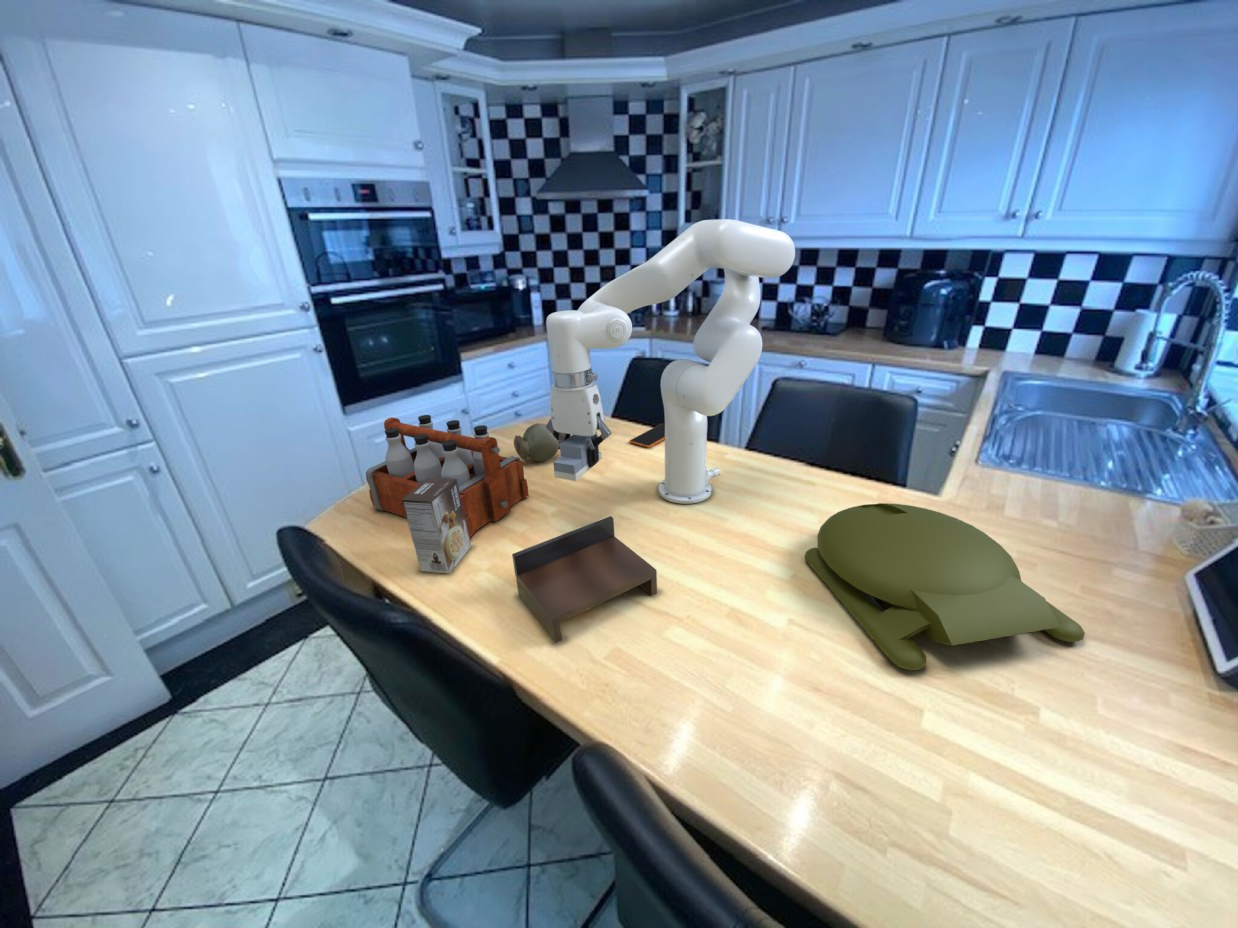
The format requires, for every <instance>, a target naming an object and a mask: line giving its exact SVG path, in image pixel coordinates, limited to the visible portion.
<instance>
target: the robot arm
mask: <svg viewBox="0 0 1238 928" xmlns="http://www.w3.org/2000/svg"><path fill="white" fill-rule="evenodd" d="M795 257H796V246H795V244H794V241H793V239H792V238H791V236H789V234H787V233H785V232H784V231H782V230H778V229H774V228H769V227H765V226H762V225H758V224H753V223H749V222H746V221H741V220H737V219H731V218H722V219H721V218H720V219H719V218H718V219H703V220H700V221H697V222H695V223H694V224H692V225H690V226H689V227H688V228H687V229H684V231H683V232H681V233H680V234H679V235H678V236H676V238H674V239H673V240H672V241H670V243H668V244H666V246H664V247H663V248H662V249H661V250H659V251H658V252H657V253H655V255H653V256H652V257H650V258H649V259H648V260H647V261H645V262H643V263H642V264H639V265H638V266H636V267H634V268H632V269H630V270H629V271H627V272H625V273H623V274H622V275H620V276H618V277H616V278H615V279H613V280H611V281H609V282H607V283H606V284H604V285H603V286H602V287H601V288H599V289H598V290H597V291H595V292H594V293H593V294H592V295H591V296H589V298H587V299H586V300H585V301H583V302H582V303H581V305H580V306H579V307H578V309H576V310H575V309H573V310H571V309H570V310H569V309H568V310H567V309H566V310H558V311H555V312H551V313H550V314H549V315H548V316H547V317H546V320H545V325H546V326H545V327H546V334H547V343H548V350H549V352H548V353H549V360H550V367H551V375H552V384H551V386H550V396H549V401H550V402H549V404H550V405H549V408H550V418H549V420H548V422H547V423H546V424H547V425H546V428H547V429H548V430H549V431H550V432H551V433H553V436H554V437H555V438H556V439H557V440H558V443H559V444H561V443H562V442H563V441H565V440H566V439H567V438H569V437H570V436H572V435H581V436H585V439H586V441H587V444H588V447H589V449H588V450H587V459H588V466H589V467H591V468H590V469H592V468H593V467H594V466H595V465H596V464H598V463H599V462H600V461H599V452H600V451H599V452H598V446H599V445H601V443H603V441H606V439H608V438H609V437H610V436H611V435H612V434H613V433H612V430H611V429H610V428H609V426H608V425H607V424H606V423H605V415H604V408H603V403H602V398H601V394H600V390H599V387H598V385H597V382H596V381H598V374H597V373H594V372H593V369H592V361H591V351H590V350H606V349H607V350H610V349H616V348H619V347H621V346H623V345H625V344H626V343H627V342H628V340H629V339H630V338H631V335H632V332H633V323H632V320H631V318H630V316H629V315H628V314H629V313H631V312H633V311H635V310H638V309H641V308H644V307H647V306H652V305H656V304H661V303H664V302H668V301H670V300H673V299H674V298H675V297H677V296H678V295H680V293H681V292H683V291H684V290H685V289H686V288H687V287H689V286H690V285H691V284H692V283H693V282H694V281H695V280H697V279H698V278H699V277H701V276H702V275H703V274H704V273H706V271H708V270H709V269H713V268H714V269H723V273H724V285H723V290H722V292H721V294H720V296H719V297H718V300H717V301H716V303H715V305H714V306H713V307H712V309H711V310H710V312H709V313H708V315H707V316H706V318H705V319H704V321H703V322H702V323H701V325H700V326H699V328H698V329H697V332H696V333H695V335H694V337H693V340H692V349H693V352H694V353H695V355H696V356H697V357H698V358H700V359H701V360H703V361H705V362H708V363H709V364H708V365H706V364H703V363H700V362H697V361H694V360H691V359H687V358H686V359H685V358H680V359H676V360H673V361H671V362H670V363H669V364H668V365H666V366H665V368H664V369H663V370H662V371H663V372H662V374H661V377H660V393H661V399H662V404H663V405H662V406H663V412H664V413H663V414H664V424H665V439H664V480H662V481H661V482H660V483H659V484H658V494H659V496H660V497H661V498H663V499H664V500H666V501H667V502H671V503H675V504H682V505H690V504H696V503H701V502H704V501H705V500H707V499H708V498H709V497H710V496H711V495H712V490H713V489H712V485H711V484H710V482H709V481H710V480H712V478H715V477H718V476H720V473H721V471H720V469H719V468H717V467H715V468H713V469H710V470H709V468H708V466H707V439H708V417H713V416H716V415H718V414H721V413H722V412H723V411H725V409H727V407H728V406H729V405H730V404H731V403H732V401H733V400H734V399H735V397H736V396H737V394H738V392H739V391H740V390H741V388H742V387H743V385H744V384H745V383H746V381H747V380H748V378H749V377H750V375H751V374H752V372H753V371H754V369H755V368H756V366H757V364H758V362H759V361H760V358H761V356H762V351H763V338H762V336H761V335H762V334H761V333H760V331H759V330H758V329H757V328H756V327H755V326H753V325H752V324H751V323H752V322H753V319H754V318H755V316H756V315H757V313H758V310H759V308H760V306H761V286H760V278H764V279H776V278H779V277H781V276H783V275H785V274H786V273H787V272H788V271H789V270H790V269H791V267H792V266H793V263H794V261H795ZM597 430H598V431H599V432H600V435H599V434H598V431H597Z"/></svg>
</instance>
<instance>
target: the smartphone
mask: <svg viewBox="0 0 1238 928" xmlns="http://www.w3.org/2000/svg"><path fill="white" fill-rule="evenodd" d="M662 441H665V423H660V424H658V425H656V426H655V427H652V428H651V429H649V430H647V431H645V432H643V433H641V434H639V435H637V436H635V437H633V438H631V439H630V440H629V443H630V444H633V445H636V446H640V447H643V448H647V449H649V448H651V447H653V446H655V445H657V444H659V443H660V442H662Z"/></svg>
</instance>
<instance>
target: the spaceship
mask: <svg viewBox="0 0 1238 928" xmlns="http://www.w3.org/2000/svg"><path fill="white" fill-rule="evenodd" d="M816 538H817V539H816V540H817V541H816V542H817V543H816V544H817V545H816V546H817V547H812V548H808V549H807V550H806V551H805V553H804V560H805V561H806V562H807V563H808V565H809V566H810V567H811V568H812V569H813V570H814V572H815V573H816V574H817V576H819V577H820V579H821V580H822V581H823V582H824V584H825V585H826V586H827V587H828V588H829V589H830V591H831V592H832V593H833V594H834V595H835V597H836V598H837V599H838V600H839V601H840V603H842V605H843V606H844V607H845V608H846V610H847V611H848V612H849V613H850V614H851V615H852V617H853V618H854V619H855V621H856V622H857V623H858V624H859V625H860V626H861V627H862V629H863V630H864V631H865V632H866V633H867V634H868V636H869V637H870V638H871V639H872V641H874V643H875V644H876V646H878V647H879V649H880V650H881V651H882V652H883V654H884V655H885V656H886V657H887V658H888V659H889V660H890V661H891V662H892V663H893V664H894V665H896V667H899V668H901V669H903V670H907V671H918V670H921V669H923V668H924V667H925V666H926V664H927V655H926V654H925V653H924V651H923V649H922V648H921V647H920V646H919V645H918V644H917V643H916V642H915V640H913V638H912V637H914V636H916V635H917V634H919V633H922V634H923V635H924V636H925V637H927V639H928V640H929V641H932V642H936V643H940V644H944V645H948V646H953V647H954V646H957V645H964V644H969V643H975V642H981V641H986V640H993V639H999V638H1004V637H1005V638H1006V637H1011V636H1016V635H1017V636H1018V635H1021V634H1022V635H1023V634H1027V633H1034V632H1039V631H1044V632H1046V633H1047V634H1048V635H1050V636H1051V637H1053V638H1054V639H1056V640H1060V641H1062V642H1068V643H1077V642H1080V641H1083V640H1084V638H1085V636H1086V632H1085V630H1084V629H1083V627H1082V625H1080V623H1078V622H1077V621H1075V619H1072V618H1071V617H1070V616H1068V615H1067V614H1066V613H1064V612H1062V611H1061V610H1059V609H1058V608H1057V607H1056V606H1054V605H1053V604H1052V603H1050V602H1049V601H1047V600H1046V598H1045V597H1044V596H1043V595H1042V594H1040V593H1039V592H1037V591H1036V590H1035V589H1033V588H1032V587H1030V586H1029V585H1028V584H1026V583H1024V582H1023V580H1022V578H1021V573H1020V570H1019V567H1018V566H1017V564H1016V562H1015V560H1014V559H1013V557H1012V555H1010V553H1009V552H1008V551H1007V550H1006V549H1005V548H1004V547H1003V546H1002V545H1001V544H1000V543H998V542H997V541H996V540H995V539H994V538H992V537H991V536H989V535H988V534H987V533H986V532H984V531H982V530H980V529H979V528H977V527H975V526H974V525H972V524H970V523H967V522H965V521H963V520H961V519H960V518H956V517H955V516H951V515H948V514H945V513H943V512H939V511H937V510H932V509H930V508H925V507H920V506H915V505H909V504H902V503H888V502H887V503H886V502H885V503H883V502H882V503H881V502H879V503H867V504H861V505H856V506H852V507H847V508H845V509H843V510H839V511H837V512H836V513H834V514H832V515H831V516H829V517H828V519H826V520H825V521H824V522H823V524H822V525H820V527H819V530H818V533H817V536H816ZM875 598H876V599H878V600H881V601H883V602H886V603H889V604H891V605H892V606H891V607H889V608H887V609H884V608H883V606H881V604H879V602H877V600H876V599H875Z"/></svg>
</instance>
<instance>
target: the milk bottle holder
mask: <svg viewBox="0 0 1238 928" xmlns="http://www.w3.org/2000/svg"><path fill="white" fill-rule="evenodd" d="M417 419H418V425H414V424H408V423H403V422H401V420H400V419H399V418H397V417H393V416H391V417H388V418H386V419H385V420H384V422H383V427H384V434H385V441H386V442H387V445H388V446H387V450H386V453H385V459H384V460H385V461H383V462H380V463H378V464H376V465H373V466H372V467H369V468H368V469H367V470H366V471H365V478H366V479H365V480H366V482H367V484H368V487H369V489H368V494H369V498H370V501H371V504H372V505H373V507H374V508H375V509H376V510H379V511H382V512H385V511H386V512H389V513H392V514H395V515H398V516H401V517H404V518H407V517H406V514H405V510H404V506H403V503H402V499H403V498H404V497H405V496H406V495H408V494H409V493H410V492H411V491H412V490H414V489H415V488H416V487H417V486H418V485H419V484H421V483H422V482H423V481H424V480H425V479H426V478H428V477H430V478H456V479H457V483H458V487H459V492H460V497H461V501H462V506H463V511H464V515H465V520H466V525H467V530H468V534H469V538H471V537H472V536H474V535H475V532H477V531H478V530H479V529H480V528H482V527H483V526H485V525H486V524H487V523H489V522H490V521H492V522H497V521H499V520H500V519H502V518H503V517H505V516H506V515H507V514H509V513H510V512H511V507H512V506H513V505H514V504H516V503H518V502H519V501H520V500H522V499H526V498H528V497H529V485H528V481H527V479H526V478H525V472H524V471H525V469H524V463H523V460H522V459H521V458H520V457H519V456H516V455H515V456H514V455H511V456H509V457H506V456H502V455H500V452H501V448H500V447H499V446H498V440H497V439H496V438H495V437H493V436H490V433H489V431H488V426H487V425H481V424H480V425H476V426H474V427H473V431H474V435H473V437H472V436H469V435H468V436H467V435H463V434H462V426H461V425H460V420H458V419H453V420H448V421H447V422H446V426H447V428H446V431H443V430H438V429H434V422H433V420H432V415H430V414H423V415H419V416H418V417H417ZM405 437H408V438H413V440H414V447H413V448H411V449H409V448H408V447H407V443H406V439H405Z"/></svg>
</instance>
